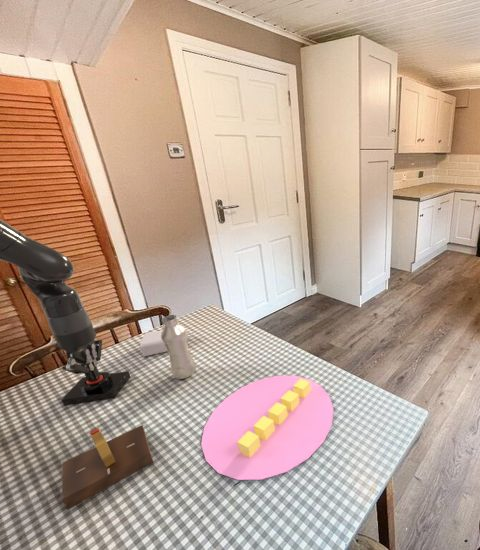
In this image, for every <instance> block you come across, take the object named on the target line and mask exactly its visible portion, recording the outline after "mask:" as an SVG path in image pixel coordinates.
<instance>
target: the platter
mask: <svg viewBox="0 0 480 550" xmlns="http://www.w3.org/2000/svg"><path fill="white" fill-rule="evenodd" d="M333 418H334V406H333V403H332V400H331V397H330V395H329V393H328V392H327V391H326V390H325V389H324V388H323V386H322V385H320V384H318V383H317V382H315V381H314V380H311V379H309V378H307V377H306V378H305V377H302V376H298V375H274V376H270V377H264V378H260V379H258V380H255V381H253V382H251V383H248V384H245V385H243V386H241V387H240V388H239V389H237V390H236V391H234V392H232V393H231V394H230V395H228V396H227V397H226V398H224V400H222V401H221V402H220V404H218V405H217V407H216V408H214V410H213V411H212V413H211V414H210V416H209V417H208V419H207V422H206V423H205V424H204V427H203V432H202V437H201V444H200V445H201V449H202V452H203V456H204V459H205V462H207V463H208V464H209V465H210V466H211V468H213V470H214V471H216V473H217V474H219V475H223V476H225V477H228V478H231V479H234V480H236V481H257V480H258V481H263V480H266V479H269V478H272V477H275V476H279V475H282V474H285V473H288V472H289V471H291V470H293V469H294V468H296V467H297V466H299V465H301V464H302V463H304V462H305V461H307V460H309V459H310V458H311V456H312V455H313V454H314V453H315V452H316V451H317V450H318V449H319V448H320V447H321V446H322V445H323V443H324V442H325V440H326V438H327V436H328V435H329V432H330V431H331V428H332V426H333V420H334V419H333Z"/></svg>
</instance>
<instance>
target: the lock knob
mask: <svg viewBox="0 0 480 550" xmlns="http://www.w3.org/2000/svg"><path fill="white" fill-rule="evenodd" d="M89 436H90V438H91V440H92V442H93V444H94V447H96V449H97V451H98V453H99V455H100V457H101V459H102V461H103V463H104V465H105V467H108V466H110V465H111V464H113V463H115V460H114V458H113V455H112V453H111V451H110V449H109V447H108V444H107V440H106V439H105V437H104V435H103V433H102V431H101V429H100V428H99V427H96V428H94V429H91V431H89Z"/></svg>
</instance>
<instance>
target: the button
mask: <svg viewBox="0 0 480 550" xmlns="http://www.w3.org/2000/svg"><path fill="white" fill-rule="evenodd" d="M102 379H103V376H102V375H100V377H99V379H98V380H97V381H92V382H89V381H88V380H87V381H86V383H87V385H91V384H95V383H98V382H99V381H101V380H102Z"/></svg>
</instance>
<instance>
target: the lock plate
mask: <svg viewBox="0 0 480 550" xmlns="http://www.w3.org/2000/svg"><path fill="white" fill-rule="evenodd" d="M106 442H107V444H108V447H109V449H110V451H111V453H112V455H113V458H114V460H115V463H113V464H111V465H110V466H108V467H105V465H104V463H103V461H102V459H101V457H100V455H99V453H98V451H97V449H96V446H94V447H93V448H91V449H87V450H86V451H84V452H82V453H79V454H78V455H75V456H73V457H71V458H69V459H67V460H65V461H62V474H61V475H62V478H61V479H62V483H61V501H62V502H63V504H64V505H65V507H66V509H67V510H69V509H72V508H73V507H75V506H77V505H78V504H80V503H81V504H82V503H83V502H84V501H86V500H89V498H92V497H94V496H95V495H97V494H100V493H101V492H102V491H104V490H107V489H108V488H110V487H112V486H113V485H116V484H117V483H120V482H121V481H123V480H124V479H126V478H129V477H130V476H132V475H133V474H135V473H138V472H139V471H141V470H143V469H144V468H146V467H148V466H150V465H152V464H153V463H154V462H155V461H154V458H153V454H152V450H151V447H150V444H149V439H148V437H147V432H146V430H145V428H144V425H143V424H141V425H139V426H137V427H135V428H133V429H131V430H129V431H126V432H124V433H123V434H122V433H121V434H120V435H118V436H116V437H114V438H112V439H109V440H106Z"/></svg>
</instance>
